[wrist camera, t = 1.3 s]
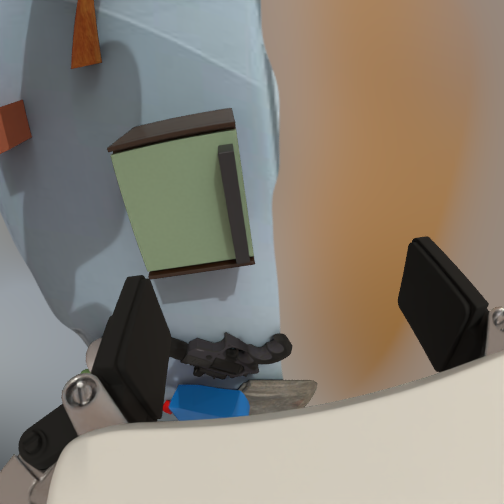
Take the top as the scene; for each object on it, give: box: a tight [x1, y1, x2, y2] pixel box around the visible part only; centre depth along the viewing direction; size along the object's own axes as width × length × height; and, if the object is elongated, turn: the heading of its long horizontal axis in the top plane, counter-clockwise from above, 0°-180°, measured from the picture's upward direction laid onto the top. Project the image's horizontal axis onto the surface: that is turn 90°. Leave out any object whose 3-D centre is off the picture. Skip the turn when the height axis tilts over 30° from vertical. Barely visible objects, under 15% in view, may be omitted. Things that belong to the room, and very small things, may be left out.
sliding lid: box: [111, 129, 254, 272], centre depth 26 cm, size 12×11×3 cm
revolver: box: [169, 332, 292, 379], centre depth 47 cm, size 3×25×15 cm
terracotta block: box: [0, 100, 32, 154], centre depth 25 cm, size 5×5×5 cm
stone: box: [238, 380, 317, 415], centre depth 57 cm, size 18×3×15 cm
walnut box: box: [107, 108, 255, 279], centre depth 30 cm, size 14×11×9 cm
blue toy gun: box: [163, 385, 250, 421], centre depth 57 cm, size 29×20×6 cm
